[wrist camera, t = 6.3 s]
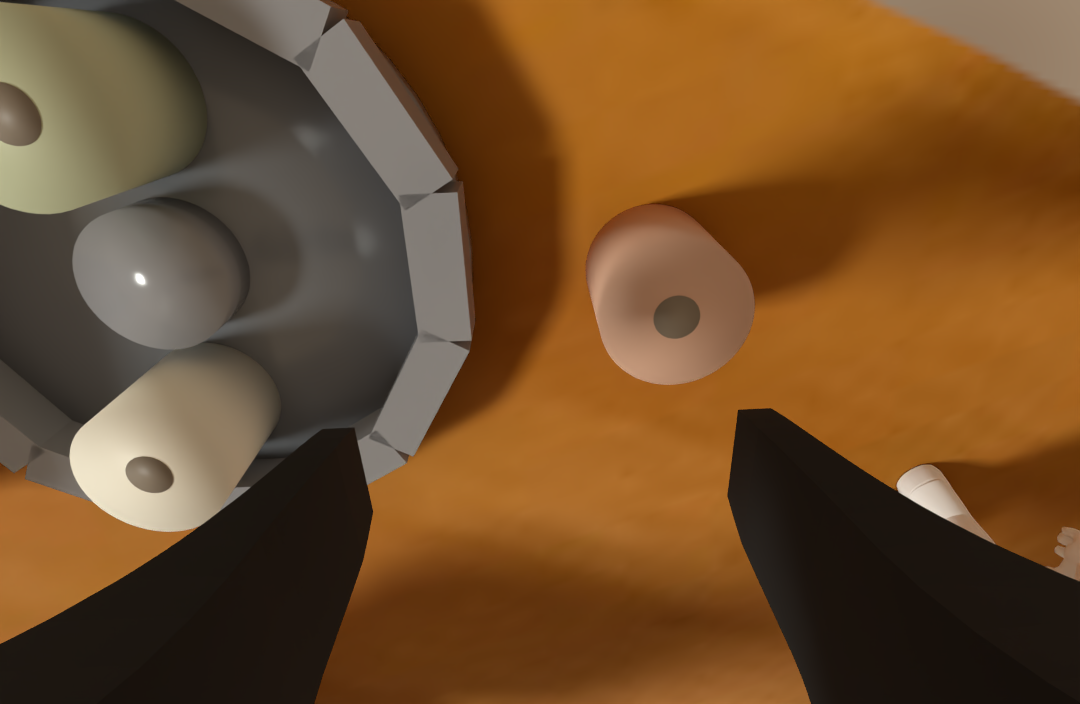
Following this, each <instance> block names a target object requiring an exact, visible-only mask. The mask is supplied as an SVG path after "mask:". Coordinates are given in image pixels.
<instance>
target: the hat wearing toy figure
mask: <svg viewBox="0 0 1080 704" xmlns="http://www.w3.org/2000/svg"><path fill="white" fill-rule="evenodd" d="M897 488H898V492H899V493H901V494H902V495H904V496H906V497H907V498H909V499H911V500H912V501H914V502H916V503H917V504H919V505H921V506H922V507H924V508H926V509H928V510H930V511H931V512H933V513H935V514H937V515H939V516H941V517H942V518H944V519H946V520H948V521H950V522H952V523H954V524H956V525H958V526H960V527H962V528H964V529H966V530H968V531H970V532H972V533H974V534H975V535H977V536H979V537H981V538H983V539H985V540H987V541H989V542H992V543H994V541H993V540H992V539H991V538H990V536H989V535H988V534H987V533H986V532H985V531H984V530H983V529H982V528H981V526H980V525H979V524H978V523H977V522H976V521H975V520H974V518H973V517H972V516H971V514H970V513H969V511H968V510H967V508H966V507H965V505H964V504H963V502H962V501H961V500H960V498H959V497H958V495H957V494H956V492H955V491H954V490H953V489H952V486H951V485H950V483H949V482H948V480H947V479H946V478H945V476H944V475H943V474H942V472H941V471H940V470H939V469H938V468H936V467H934V466H933V465H928V464H926V465H920V466H917V467H915V468H913V469H911V470H909V471H908V472H906V473H905V474H904V475H903V476H902V477H901V478H900V479H899V481H898V483H897ZM1057 539H1058V542H1060V543H1061V544H1063V545H1065V546H1066V547H1061V546H1058V545H1057V546H1056V547H1055V548H1054V549H1055V553H1056V554H1058V555H1059V556H1061V557H1063V558H1064V559H1063V561H1062V562H1061V564H1060V565H1059V566H1058V567H1056V568H1052V567H1049V566H1045V567H1047V568H1049V569H1051V570H1054V571H1056V572H1058V573H1061V574H1063V575H1065V576H1068V577H1070V578H1073V579H1075V580H1078V581H1080V531H1079V530H1077V529H1074V528H1069V527H1062V533H1059V535H1058V536H1057ZM994 544H995V543H994Z"/></svg>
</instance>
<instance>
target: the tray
mask: <svg viewBox="0 0 1080 704" xmlns="http://www.w3.org/2000/svg"><path fill="white" fill-rule="evenodd" d="M0 2H5V3H16V4H27V5H38V6H49V7H60V8H71V9H82V10H92V11H103V12H112V13H118V14H123V15H126V16H129V17H132V18H135V19H137V20H139V21H141V22H144V23H145V24H147V25H149V26H150V27H152V28H154V29H155V30H157V31H158V32H159V33H161V34H162V35H163V36H165V37H166V38H167V39H168V40H169V41H170V42H171V43H172V44H173V45H174V46H175V47H176V48H177V49H178V50H179V51H180V52H181V53H182V55H183V56H184V57H185V59H186V60H187V62H188V63H189V64H190V66H191V68H192V69H193V71H194V73H195V75H196V77H197V79H198V81H199V83H200V85H201V88H202V91H203V94H204V98H205V103H206V108H207V130H206V135H205V139H204V142H203V145H202V147H201V149H200V151H199V153H198V155H197V156H196V157H195V158H194V160H193V161H192V162H191V163H190V164H189V165H188V166H187V167H185V168H184V169H182V170H181V171H179V172H177V173H175V174H173V175H170V176H167V177H164V178H162V179H159V180H156V181H153V182H150V183H147V184H145V185H142V186H139V187H136V188H133V189H130V190H128V191H125V192H122V193H119V194H116V195H113V196H110V197H108V198H105V199H102V200H99V201H96V202H93V203H91V204H88V205H85V206H82V207H79V208H76V209H74V210H70V211H66V212H62V213H55V214H35V213H28V212H22V211H18V210H15V209H11V208H8V207H5V206H3V205H0V463H2V464H3V465H4V466H5V467H7V468H8V469H9V470H11V471H12V472H13V473H15V472H16V471H18V470H19V469H21V468H22V467H24V466H25V465H27V464H28V466H27V471H26V476H25V479H26V480H29V481H32V482H35V483H38V484H41V485H44V486H47V487H50V488H53V489H56V490H59V491H62V492H65V493H68V494H71V495H74V496H77V497H80V498H83V499H86V500H89V501H92V500H91V499H90V498H89V497H88V496H87V495H86V494H85V493H84V491H83V490H82V489H81V487H80V486H79V484H78V482H77V481H76V479H75V477H74V474H73V472H72V468H71V465H70V448H71V444H72V441H73V439H74V437H75V435H76V433H77V432H78V431H79V430H80V428H81V427H83V426H84V425H85V424H86V423H87V422H88V421H89V420H91V419H92V418H93V417H94V416H95V415H97V414H98V413H99V412H100V411H101V410H102V409H104V408H105V407H106V406H107V405H108V404H110V403H111V402H112V401H113V400H114V399H115V398H117V397H118V396H119V395H120V394H121V393H123V392H124V391H125V390H126V389H127V388H128V387H130V386H131V385H132V384H133V383H134V382H136V381H137V380H138V379H139V378H140V377H141V376H143V375H144V374H145V373H146V372H147V371H149V370H150V369H151V368H152V367H153V366H154V365H156V364H157V363H158V362H159V361H160V360H162V359H163V358H164V357H165V356H166V355H167V354H169V353H170V352H172V351H173V350H176V349H184V348H188V347H192V346H195V345H198V344H200V343H215V344H220V345H224V346H228V347H231V348H233V349H236V350H238V351H240V352H242V353H244V354H246V355H247V356H249V357H250V358H252V359H253V360H255V361H256V362H257V363H258V364H259V365H261V366H262V367H263V368H264V369H265V371H266V372H267V373H268V374H269V375H270V377H271V378H272V380H273V382H274V383H275V385H276V387H277V390H278V392H279V396H280V401H281V413H280V417H279V421H278V423H277V425H276V427H275V428H274V430H273V431H272V433H271V434H270V436H269V437H268V439H267V440H266V442H265V443H264V445H263V446H262V448H261V449H260V451H259V452H258V454H257V455H256V457H255V458H254V460H253V461H252V463H251V464H250V466H249V467H248V469H247V470H246V472H245V473H244V475H243V476H242V478H241V479H240V481H239V482H238V484H237V485H236V487H235V488H234V490H233V491H232V493H231V494H230V496H229V497H228V499H227V500H226V502H225V503H224V505H223V506H222V508H221V509H220V511H221V510H222V509H223V508H225V507H226V506H227V505H229V504H230V503H231V502H233V501H234V500H235V499H236V498H238V497H239V496H240V495H242V494H243V493H244V492H245V491H247V490H248V489H249V488H250V487H252V486H253V485H254V484H255V483H256V482H258V481H259V480H260V479H261V478H262V477H264V476H265V475H266V474H267V473H269V472H270V471H271V470H272V469H273V468H275V467H276V466H277V465H278V464H279V463H281V462H282V461H283V460H284V459H285V458H287V457H288V456H289V455H290V454H291V453H293V452H294V451H295V450H296V449H297V448H299V447H300V446H301V445H302V444H303V443H305V442H306V441H307V440H308V439H310V438H311V437H312V436H313V435H315V434H316V433H317V432H319V431H320V430H321V429H330V428H352V427H354V428H355V432H356V437H357V441H358V446H359V450H360V455H361V459H362V464H363V468H364V473H365V477H366V482H367V485H368V484H370V483H372V482H373V481H375V480H377V479H379V478H381V477H382V476H384V475H386V474H388V473H390V472H391V471H393V470H395V469H397V468H399V467H401V466H402V465H404V464H406V463H407V461H408V457H409V455H411V456H414V455H415V453H416V451H417V449H418V447H419V445H420V443H421V441H422V439H423V438H424V436H425V434H426V432H427V430H428V428H429V426H430V424H431V423H432V421H433V419H434V417H435V415H436V413H437V411H438V409H439V408H440V406H441V404H442V402H443V400H444V398H445V396H446V394H447V393H448V391H449V389H450V387H451V385H452V383H453V381H454V379H455V378H456V376H457V374H458V372H459V370H460V368H461V366H462V364H463V362H464V361H465V359H466V357H467V355H468V353H469V351H470V346H471V341H472V336H473V331H474V326H475V320H476V318H475V308H474V297H473V286H472V283H473V252H472V239H471V233H470V226H469V220H468V213H467V208H466V204H465V198H464V187H463V181H459V180H458V177H457V171H458V167H457V166H456V164H455V163H454V161H453V160H452V158H451V157H450V155H449V154H448V152H447V149H446V147H445V145H444V143H443V140H442V138H441V136H440V133H439V132H438V130H437V128H436V127H435V125H434V123H433V121H432V120H431V118H430V116H429V115H428V113H427V111H426V109H425V108H424V106H423V104H422V102H421V101H420V99H419V97H418V96H417V94H416V93H415V92H414V90H413V89H412V88H411V86H410V85H409V84H408V83H407V81H406V80H405V79H404V77H403V76H402V75H401V73H400V72H399V71H398V69H397V68H396V67H395V65H394V64H393V63H392V61H391V60H390V59H389V58H388V57H387V56H386V55H385V54H384V53H383V52H382V51H381V49H380V48H379V47H378V46H377V45H376V44H375V43H374V42H373V40H372V39H371V37H370V36H369V34H368V33H367V31H366V30H365V28H364V27H363V25H362V24H361V22H360V21H354V20H350V19H349V18H348V17H347V13H348V10H346V9H345V8H343V7H341V6H339V5H337V4H336V3H334V2H332V1H330V0H0ZM92 502H93V501H92Z"/></svg>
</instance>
